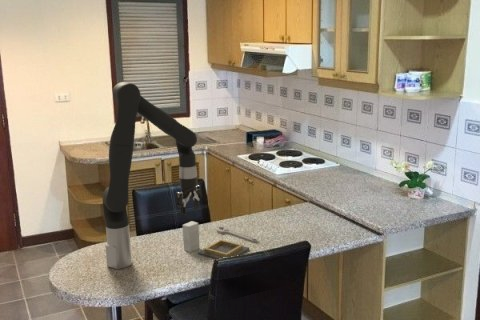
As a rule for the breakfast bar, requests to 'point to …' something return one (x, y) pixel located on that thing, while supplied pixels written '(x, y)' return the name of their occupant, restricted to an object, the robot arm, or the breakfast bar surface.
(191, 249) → the skincare box
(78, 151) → the breakfast bar surface
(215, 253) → the picture frame
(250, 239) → the adjustable wrench
